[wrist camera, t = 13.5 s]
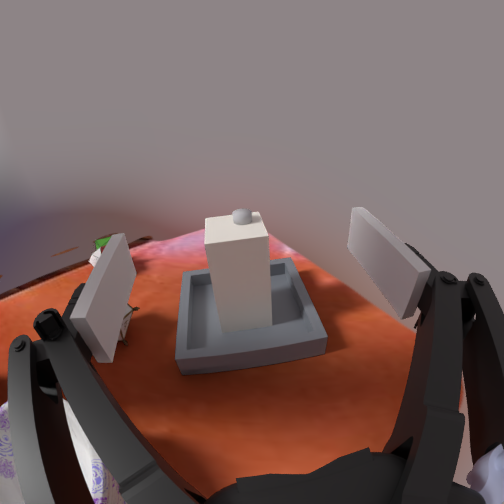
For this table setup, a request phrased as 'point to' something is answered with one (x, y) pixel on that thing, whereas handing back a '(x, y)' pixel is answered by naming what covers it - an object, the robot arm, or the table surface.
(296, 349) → the tray
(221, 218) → the carton
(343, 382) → the table surface
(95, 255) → the geometric puzzle
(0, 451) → the white round bowl
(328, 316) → the table surface
